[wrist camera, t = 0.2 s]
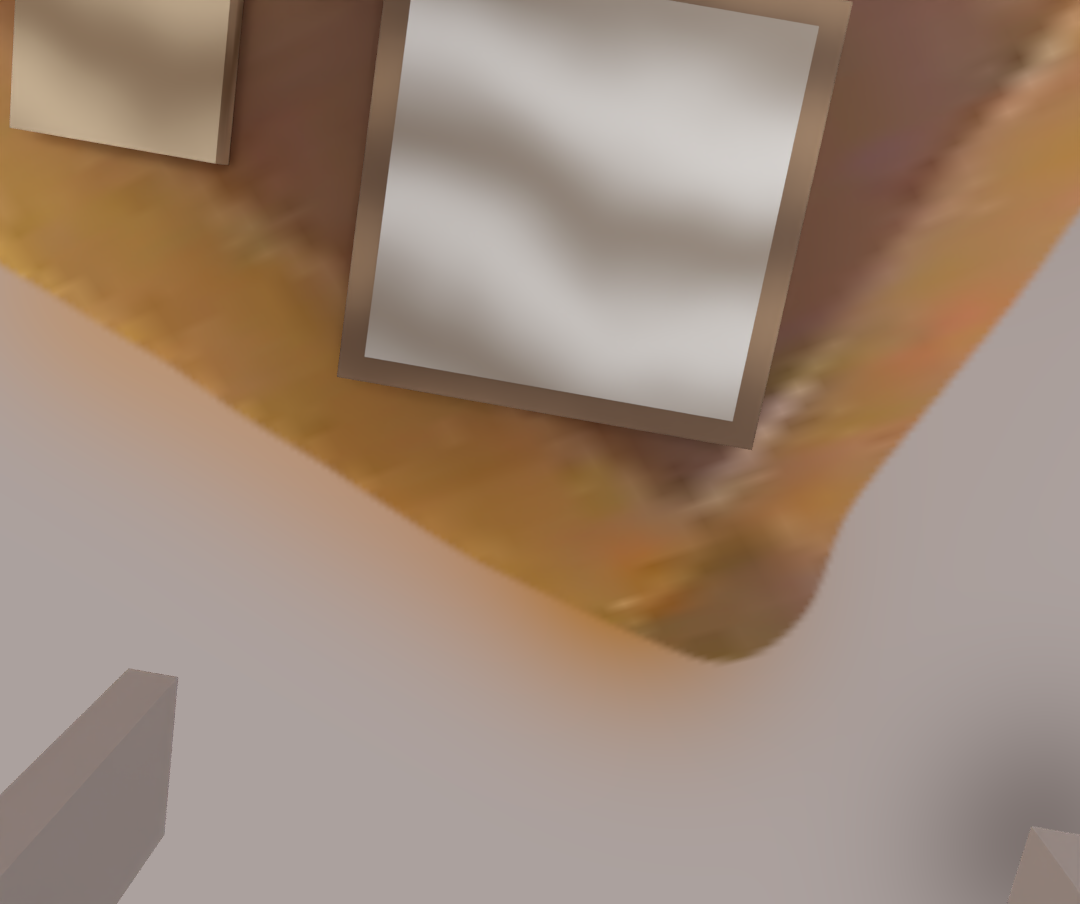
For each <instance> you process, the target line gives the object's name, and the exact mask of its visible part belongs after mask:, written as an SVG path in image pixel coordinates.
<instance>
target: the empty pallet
mask: <svg viewBox="0 0 1080 904" xmlns="http://www.w3.org/2000/svg"><path fill="white" fill-rule="evenodd" d="M243 5H244V0H15V16H14V38H13V61H12V83H11V106H10V128H15V129H21V130H27V131H32V132H38V133H44V134H50V135H55V136H61V137H67V138H72V139H78V140H84V141H90V142H95V143H101V144H107V145H112V146H118V147H124V148H130V149H135V150H141V151H147V152H152V153H158V154H164V155H170V156H175V157H181V158H187V159H192V160H198V161H204V162H210V163H215V164H222V165H229V154H230V144H231V133H232V122H233V112H234V101H235V90H236V80H237V69H238V59H239V48H240V37H241V27H242V16H243Z"/></svg>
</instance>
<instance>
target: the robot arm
mask: <svg viewBox="0 0 1080 904" xmlns="http://www.w3.org/2000/svg"><path fill="white" fill-rule="evenodd" d="M177 684H178V677H174V676H168V675H163V674H157V673H151V672H146V671H140V670H134V669H128V670H127V671H126V672H125V673H124V674H123V675H122V676H121V677H120V678H119V679H118V680H117V681H116V682H115V683H114V684H112V686H110V687H109V688H108V689H107V690H106V691H105V692H104V693H103V694H102V695H101V696H100V697H99V698H98V699H97V700H96V701H95V702H94V703H93V704H92V705H91V706H90V707H89V708H88V709H87V710H86V711H85V712H84V713H83V714H82V715H81V716H80V717H79V718H78V719H77V720H76V721H75V722H74V723H73V724H72V725H71V726H70V727H69V728H68V729H67V730H66V731H65V732H64V733H63V734H62V735H61V736H60V737H59V738H58V739H57V740H56V741H54V742H53V744H51V745H50V746H49V747H48V748H47V749H46V750H45V751H44V752H43V753H42V754H41V755H40V756H39V757H38V758H37V759H36V760H35V761H34V762H33V763H32V764H31V765H30V766H29V767H28V768H27V769H26V770H25V771H24V772H23V773H22V774H21V775H20V776H19V777H18V778H17V779H16V780H15V781H14V782H13V783H12V784H11V785H10V786H9V787H8V788H7V789H6V790H5V791H4V792H3V793H2V794H1V795H0V904H117V903H118V901H119V900H120V898H121V897H122V896H123V894H124V893H125V891H126V890H127V888H128V887H129V885H130V884H131V883H132V881H133V880H134V878H135V877H136V875H137V874H138V872H139V871H140V869H141V868H142V866H143V865H144V864H145V862H146V861H147V859H148V858H149V856H150V855H151V853H152V852H153V850H154V849H155V848H156V846H157V845H158V843H159V842H160V840H161V839H162V837H163V836H164V833H165V821H166V810H167V809H166V808H167V798H168V787H169V775H170V764H171V753H172V741H173V729H174V718H175V707H176V695H177ZM1007 904H1080V835H1079V834H1073V833H1067V832H1062V831H1056V830H1050V829H1044V828H1039V827H1031V829H1030V832H1029V835H1028V838H1027V842H1026V845H1025V848H1024V851H1023V854H1022V857H1021V860H1020V864H1019V867H1018V870H1017V873H1016V876H1015V879H1014V882H1013V886H1012V889H1011V892H1010V896H1009V899H1008V902H1007Z"/></svg>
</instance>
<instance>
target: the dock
mask: <svg viewBox="0 0 1080 904" xmlns="http://www.w3.org/2000/svg"><path fill="white" fill-rule="evenodd" d="M852 3H853V2H850V1H844V0H384V2H383V10H382V18H381V26H380V34H379V42H378V50H377V58H376V66H375V74H374V83H373V91H372V99H371V107H370V115H369V123H368V131H367V139H366V147H365V155H364V163H363V171H362V179H361V187H360V195H359V203H358V211H357V220H356V228H355V236H354V244H353V252H352V260H351V268H350V276H349V284H348V292H347V300H346V308H345V316H344V324H343V332H342V340H341V348H340V357H339V365H338V373H337V377H341V378H347V379H352V380H358V381H364V382H369V383H375V384H381V385H386V386H392V387H398V388H403V389H409V390H415V391H420V392H426V393H432V394H437V395H443V396H449V397H454V398H460V399H466V400H471V401H477V402H483V403H488V404H494V405H500V406H505V407H511V408H517V409H522V410H528V411H534V412H539V413H545V414H551V415H556V416H562V417H568V418H573V419H579V420H585V421H591V422H596V423H602V424H608V425H613V426H619V427H625V428H630V429H636V430H642V431H647V432H653V433H659V434H664V435H670V436H676V437H681V438H687V439H693V440H698V441H704V442H710V443H715V444H721V445H727V446H732V447H738V448H744V449H749V450H752V447H753V443H754V438H755V434H756V429H757V425H758V420H759V416H760V412H761V407H762V403H763V398H764V394H765V389H766V385H767V380H768V376H769V372H770V367H771V363H772V358H773V354H774V349H775V345H776V341H777V336H778V332H779V327H780V323H781V318H782V314H783V309H784V305H785V301H786V296H787V292H788V287H789V283H790V278H791V274H792V270H793V265H794V261H795V256H796V252H797V247H798V243H799V238H800V234H801V230H802V225H803V221H804V216H805V212H806V207H807V203H808V199H809V194H810V190H811V185H812V181H813V176H814V172H815V168H816V163H817V159H818V154H819V150H820V145H821V141H822V136H823V132H824V128H825V123H826V119H827V114H828V110H829V105H830V101H831V97H832V92H833V88H834V83H835V79H836V74H837V70H838V65H839V61H840V57H841V52H842V48H843V43H844V39H845V34H846V30H847V26H848V21H849V17H850V12H851V8H852Z"/></svg>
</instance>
